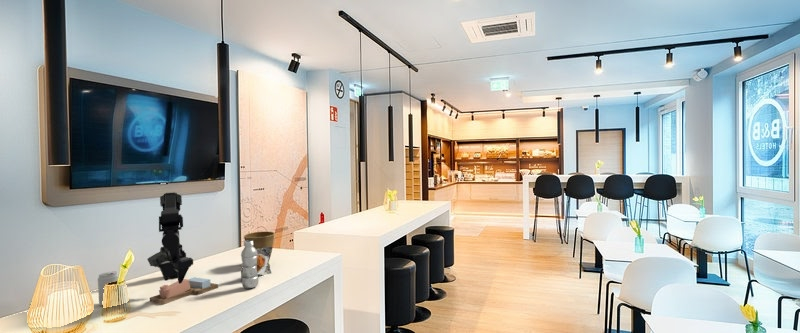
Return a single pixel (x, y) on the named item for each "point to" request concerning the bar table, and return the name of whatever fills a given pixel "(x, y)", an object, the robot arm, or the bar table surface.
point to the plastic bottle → (249, 265)
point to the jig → (182, 294)
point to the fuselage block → (174, 289)
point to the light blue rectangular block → (199, 283)
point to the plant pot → (261, 240)
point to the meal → (261, 261)
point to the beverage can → (105, 282)
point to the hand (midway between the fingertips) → (173, 281)
